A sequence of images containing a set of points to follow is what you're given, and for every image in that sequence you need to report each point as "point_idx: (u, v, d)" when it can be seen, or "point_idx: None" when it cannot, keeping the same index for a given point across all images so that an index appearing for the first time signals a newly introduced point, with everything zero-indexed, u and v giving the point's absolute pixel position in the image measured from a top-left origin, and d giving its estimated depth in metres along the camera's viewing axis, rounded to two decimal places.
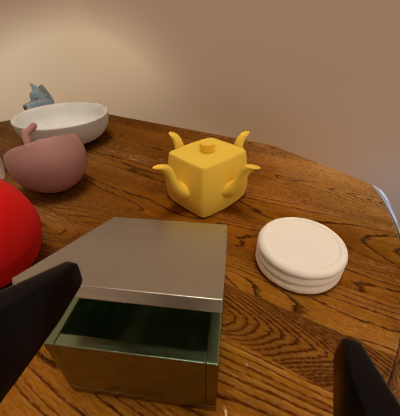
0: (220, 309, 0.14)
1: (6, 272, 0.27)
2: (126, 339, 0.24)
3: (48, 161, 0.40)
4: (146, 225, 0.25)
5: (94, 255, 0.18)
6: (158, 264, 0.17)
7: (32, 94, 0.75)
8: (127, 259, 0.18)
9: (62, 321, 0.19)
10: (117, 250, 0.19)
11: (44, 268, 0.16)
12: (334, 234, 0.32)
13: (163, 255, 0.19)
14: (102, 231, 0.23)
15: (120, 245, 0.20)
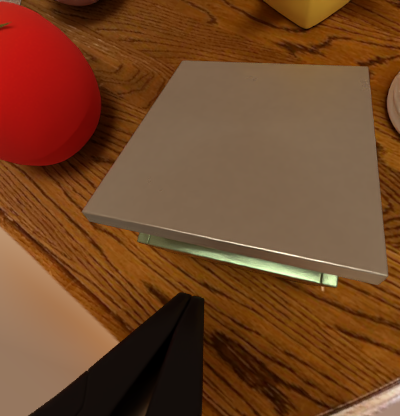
0: (378, 283, 0.09)
1: (76, 139, 0.24)
2: None
3: None
4: (233, 78, 0.16)
5: (172, 159, 0.13)
6: (268, 180, 0.11)
7: None
8: (220, 168, 0.12)
9: None
10: (202, 145, 0.13)
11: (115, 189, 0.12)
12: None
13: (272, 156, 0.12)
14: (173, 98, 0.16)
15: (204, 132, 0.14)
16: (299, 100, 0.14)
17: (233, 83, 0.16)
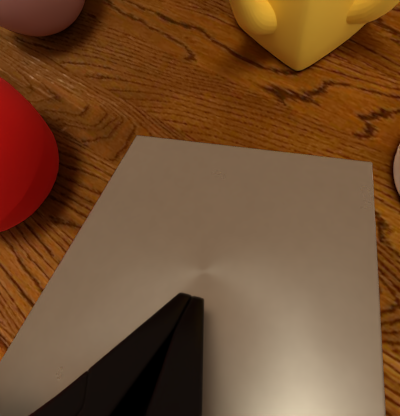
0: None
1: (22, 209, 0.20)
2: None
3: None
4: (194, 172, 0.13)
5: (97, 328, 0.09)
6: (223, 391, 0.08)
7: None
8: None
9: None
10: (140, 303, 0.09)
11: (11, 386, 0.09)
12: None
13: (233, 337, 0.09)
14: (115, 206, 0.12)
15: (146, 275, 0.10)
16: (277, 221, 0.11)
17: (194, 182, 0.12)
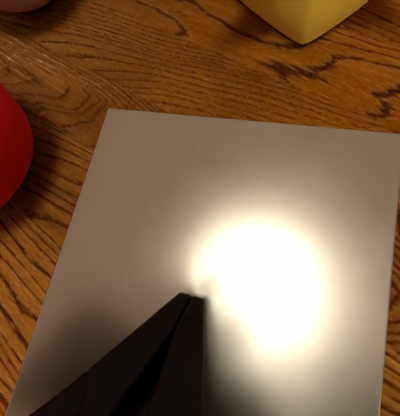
0: None
1: None
2: None
3: None
4: (180, 160, 0.11)
5: (97, 349, 0.09)
6: (220, 412, 0.08)
7: None
8: None
9: None
10: (135, 324, 0.09)
11: (31, 402, 0.09)
12: None
13: (228, 361, 0.08)
14: (96, 209, 0.11)
15: (138, 294, 0.10)
16: (278, 226, 0.09)
17: (181, 174, 0.10)
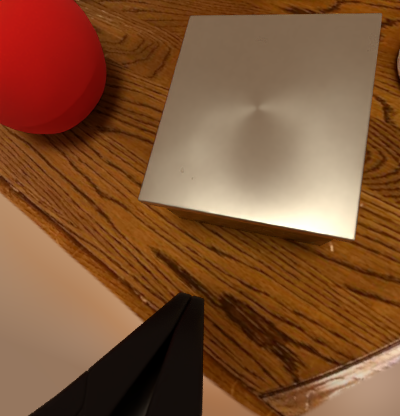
0: None
1: (82, 104, 0.24)
2: None
3: None
4: (243, 41, 0.17)
5: (197, 147, 0.16)
6: (276, 164, 0.14)
7: None
8: (237, 154, 0.15)
9: None
10: (220, 131, 0.16)
11: (158, 179, 0.16)
12: None
13: (279, 140, 0.15)
14: (188, 74, 0.17)
15: (220, 115, 0.16)
16: (306, 69, 0.15)
17: (243, 48, 0.17)
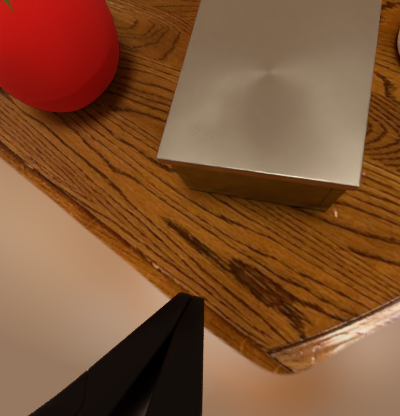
0: (354, 190, 0.14)
1: (97, 81, 0.25)
2: None
3: None
4: (253, 13, 0.18)
5: (211, 109, 0.17)
6: (285, 122, 0.16)
7: None
8: (249, 114, 0.16)
9: None
10: (233, 94, 0.17)
11: (174, 139, 0.17)
12: None
13: (289, 100, 0.16)
14: (202, 44, 0.18)
15: (233, 80, 0.17)
16: (314, 36, 0.17)
17: (254, 19, 0.18)
